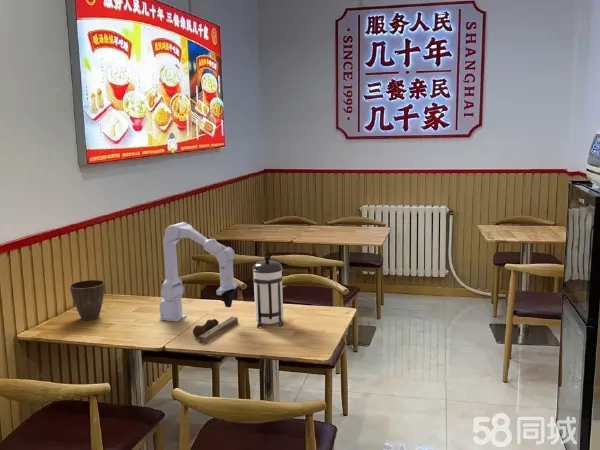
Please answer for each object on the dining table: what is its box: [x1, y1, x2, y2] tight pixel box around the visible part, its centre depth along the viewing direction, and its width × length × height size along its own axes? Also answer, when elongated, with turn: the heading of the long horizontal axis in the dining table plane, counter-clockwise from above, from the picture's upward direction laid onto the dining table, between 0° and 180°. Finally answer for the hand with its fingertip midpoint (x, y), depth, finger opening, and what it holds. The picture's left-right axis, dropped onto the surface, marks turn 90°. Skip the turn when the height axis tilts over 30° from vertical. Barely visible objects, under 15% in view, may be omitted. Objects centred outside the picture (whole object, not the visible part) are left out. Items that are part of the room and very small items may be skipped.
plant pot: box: [69, 279, 105, 321], centre depth 267 cm, size 15×15×16 cm
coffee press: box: [252, 255, 285, 329], centre depth 250 cm, size 17×16×30 cm
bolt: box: [192, 318, 220, 339], centre depth 245 cm, size 6×5×15 cm
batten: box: [198, 316, 239, 344], centre depth 244 cm, size 3×26×3 cm, turn 157°
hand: (228, 306), depth 251 cm, fingers closed
